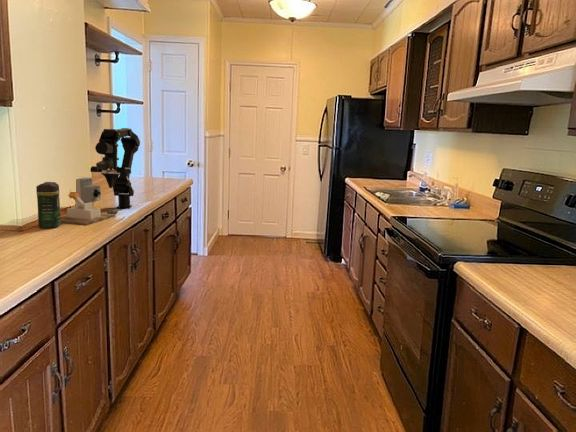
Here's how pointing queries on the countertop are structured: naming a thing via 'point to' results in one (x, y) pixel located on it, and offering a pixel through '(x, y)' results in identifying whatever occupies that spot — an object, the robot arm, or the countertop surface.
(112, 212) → the twin rounded prongs
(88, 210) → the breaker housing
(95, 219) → the mounting board
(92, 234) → the countertop surface
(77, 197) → the lever
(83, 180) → the circuit breaker
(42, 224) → the coffee jar
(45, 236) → the countertop surface
